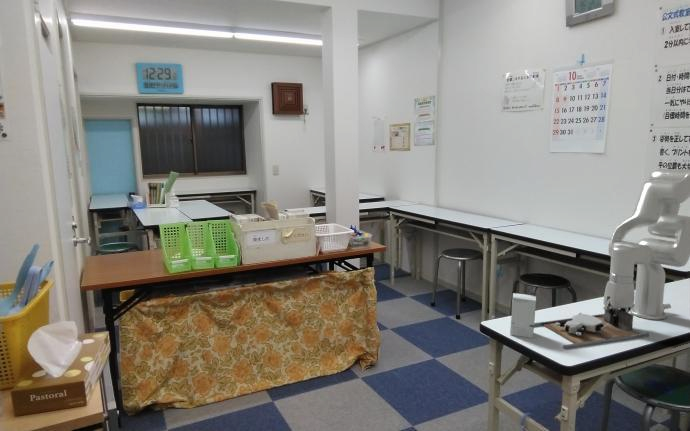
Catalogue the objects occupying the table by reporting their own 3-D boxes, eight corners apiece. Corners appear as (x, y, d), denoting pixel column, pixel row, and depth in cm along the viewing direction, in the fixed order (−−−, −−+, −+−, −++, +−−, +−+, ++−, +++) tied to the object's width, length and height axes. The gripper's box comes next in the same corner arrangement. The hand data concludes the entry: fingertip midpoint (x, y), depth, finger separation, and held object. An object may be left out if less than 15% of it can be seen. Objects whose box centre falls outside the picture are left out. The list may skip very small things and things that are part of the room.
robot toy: (579, 343, 158) (610, 333, 163) (579, 331, 157) (610, 321, 162) (552, 330, 169) (582, 321, 174) (552, 319, 168) (582, 310, 174)
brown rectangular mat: (603, 317, 179) (604, 302, 178) (642, 335, 162) (643, 318, 161) (543, 325, 173) (544, 309, 172) (577, 345, 156) (578, 328, 155)
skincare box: (510, 335, 165) (511, 297, 163) (510, 329, 171) (512, 292, 168) (534, 338, 162) (536, 300, 160) (534, 332, 167) (536, 294, 165)
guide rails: (605, 316, 181) (605, 313, 180) (648, 336, 161) (649, 333, 161) (527, 326, 172) (528, 323, 172) (564, 349, 153) (564, 346, 153)
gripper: (630, 273, 173) (627, 318, 176) (595, 277, 169) (592, 323, 172) (647, 279, 165) (643, 325, 168) (611, 283, 162) (607, 331, 165)
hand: (617, 324), depth 170 cm, fingers closed on brown rectangular mat, 3 cm apart
